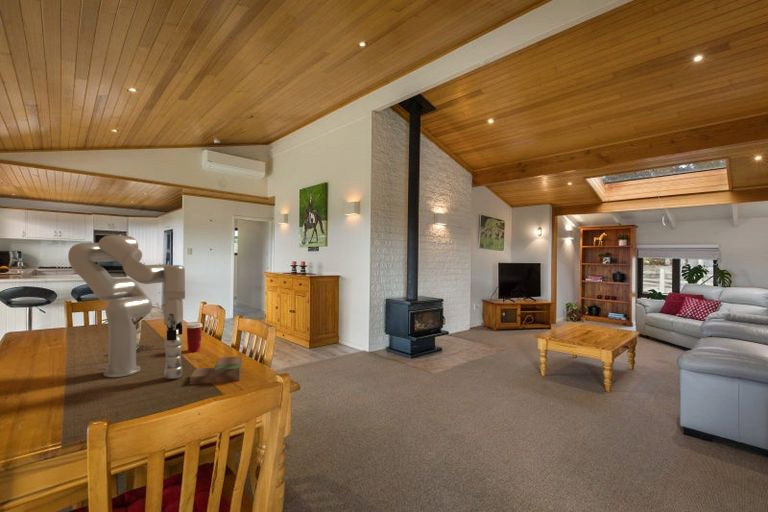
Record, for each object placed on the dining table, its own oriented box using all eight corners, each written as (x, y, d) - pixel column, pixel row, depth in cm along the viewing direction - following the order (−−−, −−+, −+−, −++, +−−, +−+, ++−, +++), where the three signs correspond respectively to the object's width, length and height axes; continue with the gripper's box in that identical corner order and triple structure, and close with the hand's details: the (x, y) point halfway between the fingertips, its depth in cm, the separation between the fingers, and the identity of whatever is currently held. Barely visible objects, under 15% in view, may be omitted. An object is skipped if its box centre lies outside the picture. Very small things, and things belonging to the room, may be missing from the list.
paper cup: (205, 350, 187) (205, 323, 187) (190, 354, 180) (191, 326, 180) (197, 347, 191) (197, 321, 191) (182, 351, 185) (182, 324, 184)
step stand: (189, 384, 141) (190, 367, 141) (195, 375, 151) (195, 359, 151) (239, 380, 146) (239, 363, 146) (241, 372, 156) (241, 356, 156)
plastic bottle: (174, 381, 144) (174, 332, 143) (159, 380, 145) (160, 330, 145) (186, 376, 150) (186, 328, 150) (172, 374, 151) (172, 327, 151)
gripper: (169, 293, 154) (170, 333, 154) (157, 298, 137) (157, 343, 138) (189, 292, 156) (189, 332, 156) (179, 297, 140) (179, 341, 140)
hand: (174, 337), depth 147 cm, fingers open, 9 cm apart
